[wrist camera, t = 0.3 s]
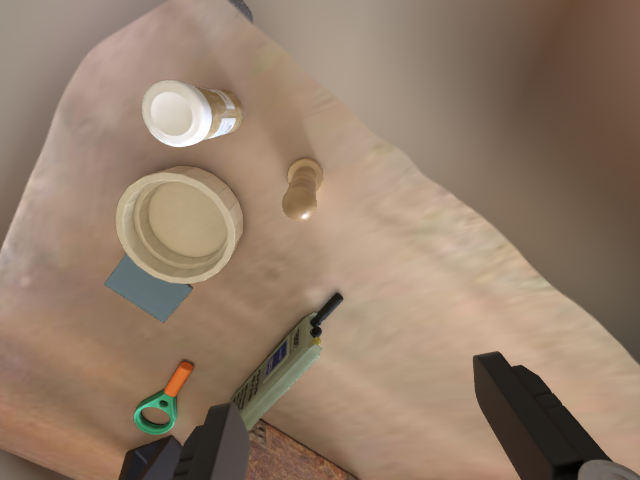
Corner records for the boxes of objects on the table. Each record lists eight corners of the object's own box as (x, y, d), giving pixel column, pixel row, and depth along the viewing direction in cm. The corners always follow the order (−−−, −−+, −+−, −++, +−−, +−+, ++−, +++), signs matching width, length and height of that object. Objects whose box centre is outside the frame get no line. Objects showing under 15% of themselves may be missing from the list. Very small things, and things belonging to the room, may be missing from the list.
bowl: (119, 222, 41) (93, 236, 36) (176, 141, 37) (155, 146, 33) (205, 282, 44) (192, 303, 39) (265, 213, 40) (257, 227, 36)
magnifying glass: (166, 433, 54) (162, 443, 52) (130, 418, 53) (125, 427, 51) (208, 370, 49) (204, 378, 48) (170, 352, 48) (165, 360, 46)
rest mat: (105, 283, 44) (103, 284, 44) (132, 245, 42) (131, 247, 42) (164, 321, 46) (163, 323, 46) (193, 287, 44) (192, 289, 44)
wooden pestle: (281, 177, 39) (262, 210, 26) (303, 150, 38) (295, 171, 25) (307, 199, 40) (301, 242, 27) (330, 174, 39) (335, 206, 26)
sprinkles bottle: (237, 85, 35) (192, 72, 23) (248, 130, 37) (212, 141, 24) (196, 94, 36) (129, 86, 23) (208, 138, 37) (152, 152, 25)
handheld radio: (226, 397, 51) (329, 283, 44) (245, 407, 52) (348, 296, 45) (215, 438, 45) (332, 313, 38) (236, 448, 46) (354, 327, 39)
